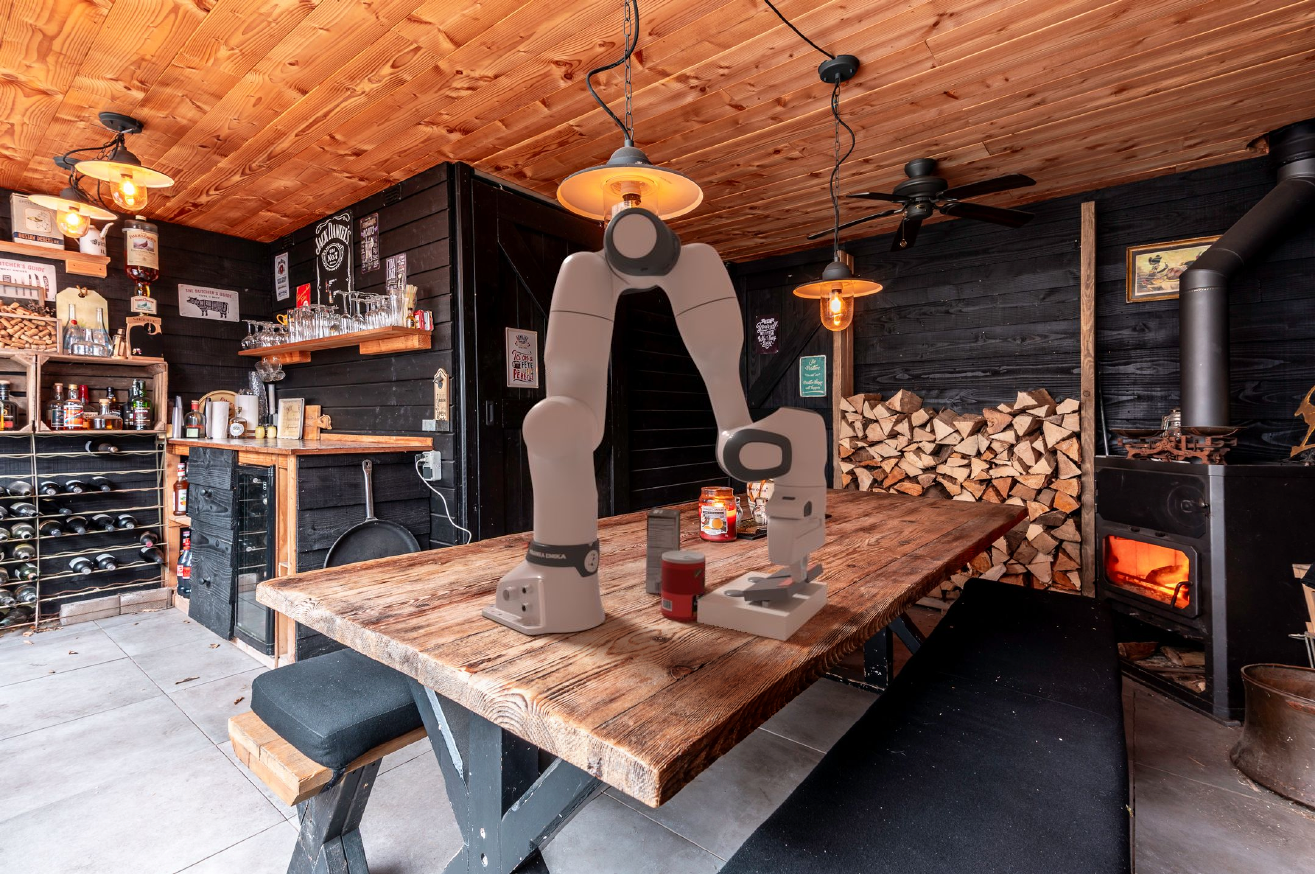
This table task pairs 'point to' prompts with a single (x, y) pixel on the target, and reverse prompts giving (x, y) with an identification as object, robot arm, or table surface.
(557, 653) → the table surface
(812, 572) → the rocker far
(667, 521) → the coffee box
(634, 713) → the table surface
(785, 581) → the rocker near
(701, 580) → the canned food
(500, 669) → the table surface
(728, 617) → the beige flat block
